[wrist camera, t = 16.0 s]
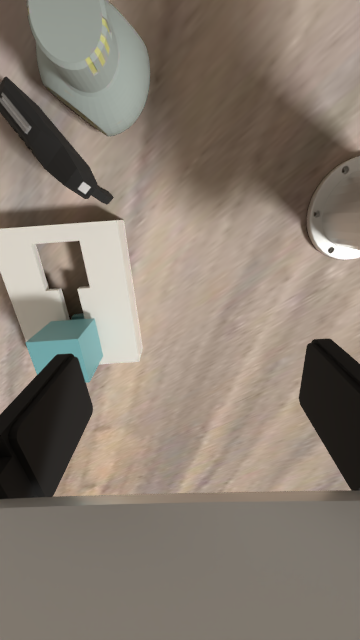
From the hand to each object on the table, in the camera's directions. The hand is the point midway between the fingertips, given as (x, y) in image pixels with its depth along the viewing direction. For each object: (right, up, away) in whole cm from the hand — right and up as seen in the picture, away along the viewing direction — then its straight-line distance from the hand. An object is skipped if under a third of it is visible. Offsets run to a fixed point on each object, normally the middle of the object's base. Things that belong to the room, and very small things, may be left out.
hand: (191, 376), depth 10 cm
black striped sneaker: (-15, +23, +19) cm, 33 cm away
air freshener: (-9, +29, +17) cm, 35 cm away
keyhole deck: (-15, +6, +26) cm, 31 cm away
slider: (-15, +2, +28) cm, 32 cm away
